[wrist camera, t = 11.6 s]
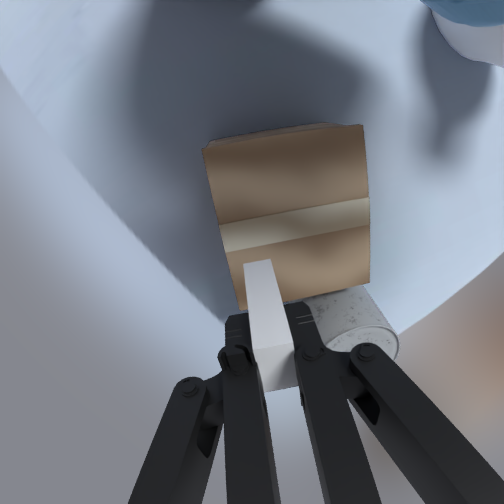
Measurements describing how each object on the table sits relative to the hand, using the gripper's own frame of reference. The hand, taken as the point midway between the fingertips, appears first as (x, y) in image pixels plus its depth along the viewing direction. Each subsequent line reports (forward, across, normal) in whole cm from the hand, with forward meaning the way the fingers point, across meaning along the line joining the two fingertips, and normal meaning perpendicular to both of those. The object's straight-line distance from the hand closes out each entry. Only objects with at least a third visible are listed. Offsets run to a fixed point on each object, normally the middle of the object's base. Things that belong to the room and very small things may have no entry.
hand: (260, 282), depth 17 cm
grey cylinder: (+17, +8, -14) cm, 24 cm away
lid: (+9, +4, 0) cm, 10 cm away
